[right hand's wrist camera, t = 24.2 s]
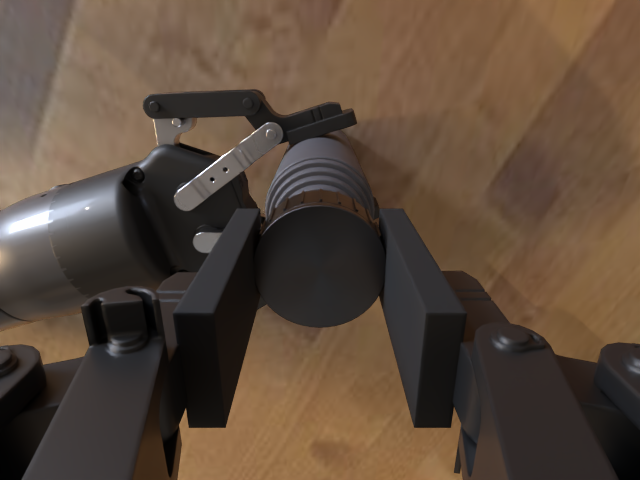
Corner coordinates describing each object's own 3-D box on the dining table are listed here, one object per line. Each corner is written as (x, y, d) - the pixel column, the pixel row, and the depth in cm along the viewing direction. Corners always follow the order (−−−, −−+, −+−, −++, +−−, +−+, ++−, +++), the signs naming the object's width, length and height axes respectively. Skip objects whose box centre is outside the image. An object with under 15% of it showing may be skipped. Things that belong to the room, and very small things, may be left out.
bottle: (356, 126, 29) (406, 195, 13) (348, 191, 31) (381, 328, 14) (289, 119, 29) (249, 178, 12) (284, 185, 31) (242, 315, 14)
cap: (255, 186, 13) (246, 202, 12) (385, 188, 13) (394, 204, 12) (260, 301, 15) (253, 328, 13) (377, 302, 15) (384, 330, 13)
